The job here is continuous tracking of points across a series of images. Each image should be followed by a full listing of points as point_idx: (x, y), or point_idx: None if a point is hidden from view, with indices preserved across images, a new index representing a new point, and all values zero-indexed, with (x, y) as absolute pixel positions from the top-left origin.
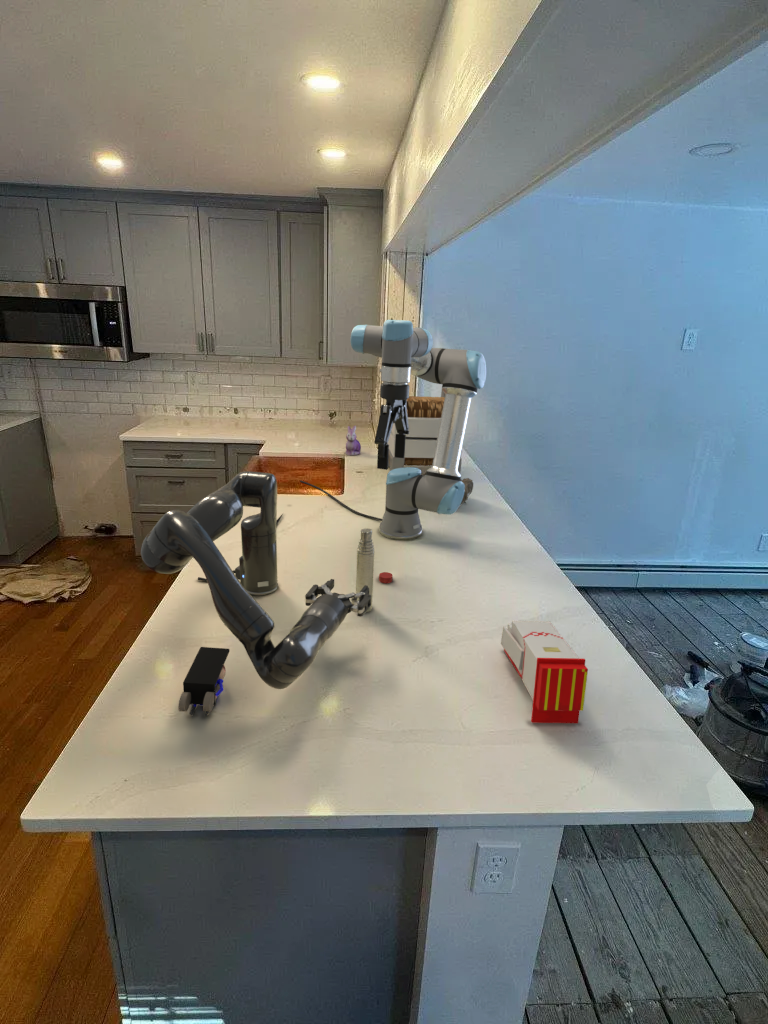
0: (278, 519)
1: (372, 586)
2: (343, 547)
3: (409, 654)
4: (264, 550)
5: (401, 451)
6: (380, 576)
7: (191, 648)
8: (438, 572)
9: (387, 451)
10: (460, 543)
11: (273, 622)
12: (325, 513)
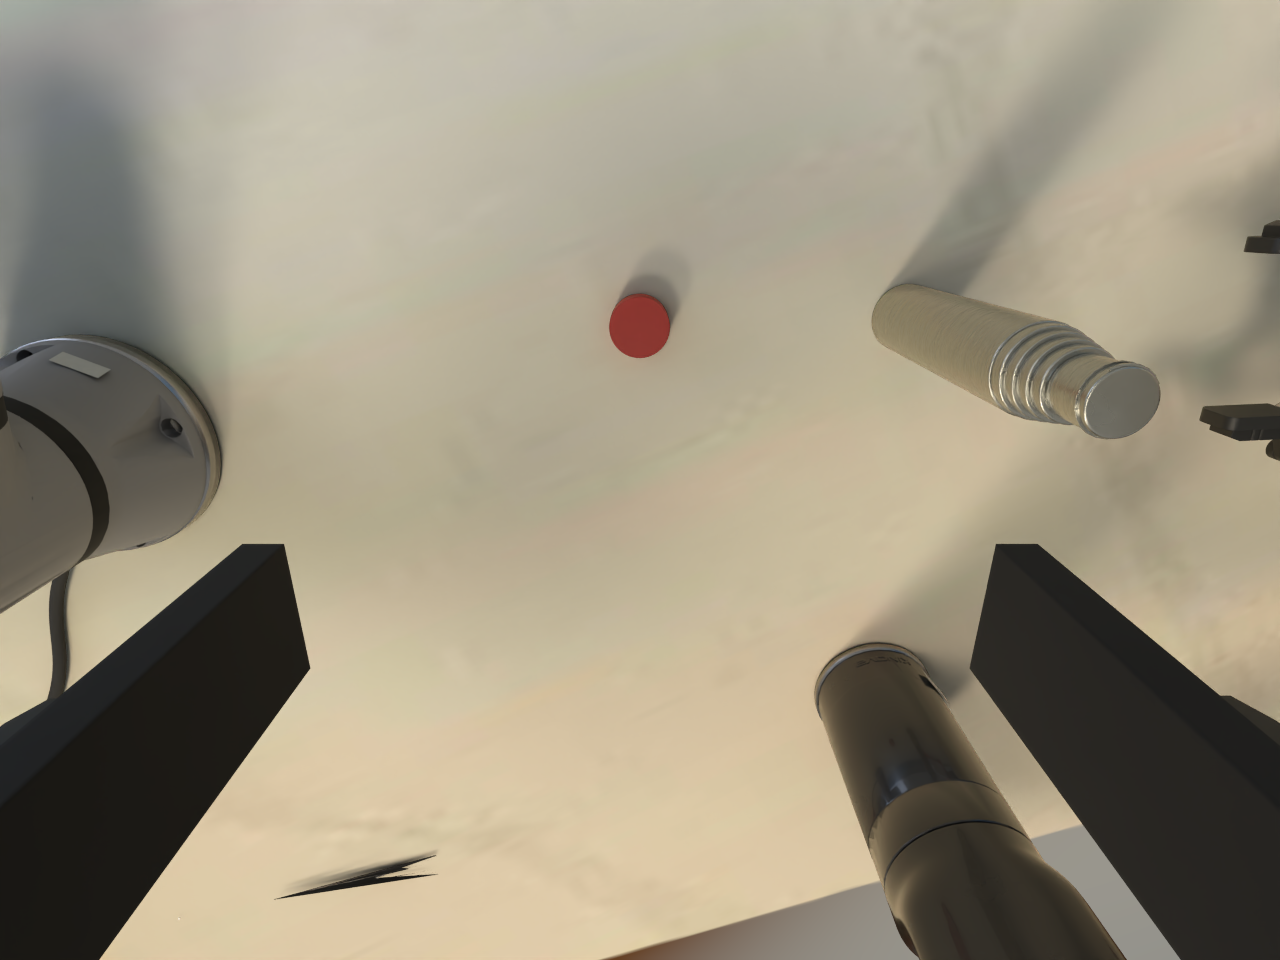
0: (354, 885)
1: (951, 295)
2: (427, 594)
3: (1209, 5)
4: (989, 780)
5: (235, 637)
6: (663, 344)
7: (1258, 672)
8: (440, 110)
9: (1265, 739)
10: (16, 94)
11: None
12: None
